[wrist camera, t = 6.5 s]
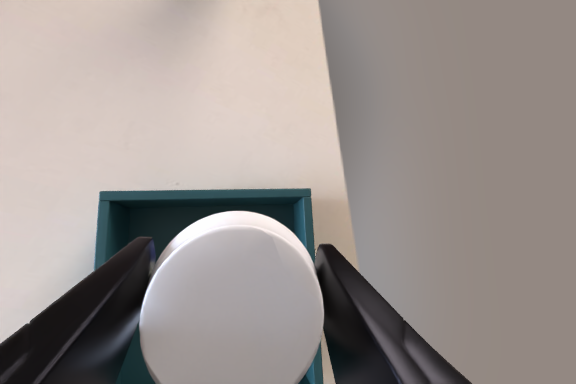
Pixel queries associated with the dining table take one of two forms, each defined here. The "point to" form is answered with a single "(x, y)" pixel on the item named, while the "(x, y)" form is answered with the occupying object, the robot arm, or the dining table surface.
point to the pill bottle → (232, 305)
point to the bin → (179, 215)
